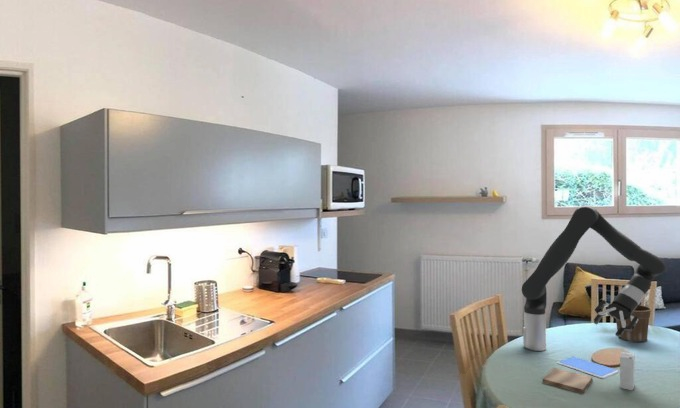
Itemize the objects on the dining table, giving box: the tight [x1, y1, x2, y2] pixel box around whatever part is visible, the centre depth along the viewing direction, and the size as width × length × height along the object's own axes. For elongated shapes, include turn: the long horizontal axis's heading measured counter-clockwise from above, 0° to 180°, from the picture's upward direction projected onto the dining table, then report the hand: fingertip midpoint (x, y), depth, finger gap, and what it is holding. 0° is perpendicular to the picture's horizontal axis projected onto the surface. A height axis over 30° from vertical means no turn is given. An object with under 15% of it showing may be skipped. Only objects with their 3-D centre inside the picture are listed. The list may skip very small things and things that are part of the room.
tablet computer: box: [556, 355, 619, 380], centre depth 173 cm, size 19×13×1 cm, turn 30°
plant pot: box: [615, 304, 653, 343], centre depth 206 cm, size 16×16×16 cm
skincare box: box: [619, 351, 636, 391], centre depth 155 cm, size 6×4×12 cm
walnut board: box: [542, 367, 593, 394], centre depth 160 cm, size 14×14×2 cm
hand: (605, 329), depth 165 cm, fingers open, 8 cm apart
